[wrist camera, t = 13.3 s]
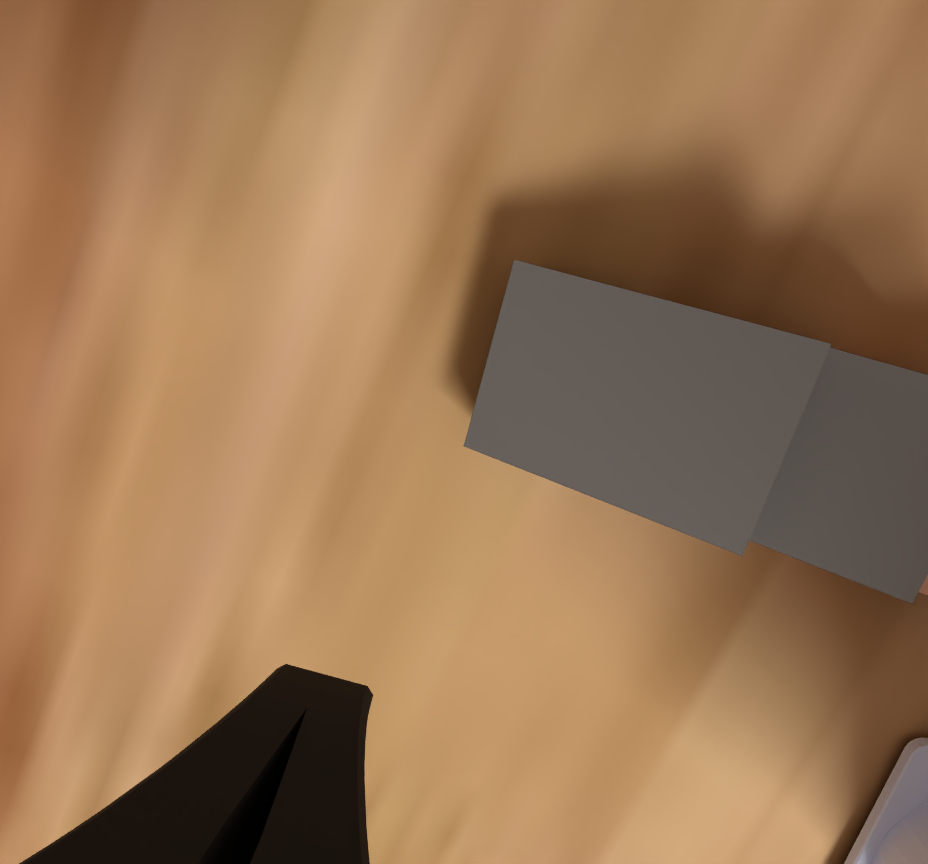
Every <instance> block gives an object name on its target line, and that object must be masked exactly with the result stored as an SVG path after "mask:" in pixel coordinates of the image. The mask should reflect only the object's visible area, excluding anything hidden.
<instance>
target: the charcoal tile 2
mask: <svg viewBox="0 0 928 864" xmlns="http://www.w3.org/2000/svg"><path fill="white" fill-rule="evenodd" d="M749 541H752V542H755V543H757V544H760V545H762V546H765V547H767V548H770V549H773V550H775V551H778V552H780V553H783V554H785V555H788V556H790V557H793V558H796V559H798V560H801V561H803V562H806V563H808V564H811V565H814V566H816V567H819V568H821V569H824V570H826V571H829V572H832V573H834V574H837V575H839V576H842V577H844V578H847V579H850V580H852V581H855V582H857V583H860V584H862V585H865V586H867V587H870V588H873V589H875V590H878V591H880V592H883V593H885V594H888V595H891V596H893V597H896V598H898V599H901V600H903V601H906V602H909V603H911V604H913V602H914V600H915V598H916V596H917V594H918V592H919V590H920V588H921V587H922V585H923V583H924V581H925V579H926V577H927V575H928V375H927V374H923V373H919V372H916V371H912V370H909V369H905V368H902V367H898V366H894V365H891V364H887V363H884V362H880V361H876V360H873V359H869V358H866V357H862V356H858V355H855V354H851V353H848V352H844V351H841V350H837V349H833V348H829V351H828V353H827V355H826V358H825V360H824V363H823V365H822V367H821V370H820V372H819V375H818V377H817V379H816V382H815V384H814V387H813V389H812V391H811V394H810V396H809V399H808V401H807V403H806V406H805V408H804V411H803V413H802V415H801V418H800V420H799V422H798V425H797V427H796V430H795V432H794V434H793V437H792V439H791V442H790V444H789V446H788V449H787V451H786V454H785V456H784V458H783V461H782V463H781V466H780V468H779V470H778V473H777V475H776V478H775V480H774V482H773V485H772V487H771V489H770V492H769V494H768V497H767V499H766V501H765V504H764V506H763V509H762V511H761V513H760V516H759V518H758V521H757V523H756V525H755V528H754V530H753V533H752V535H751V537H750V540H749Z"/></svg>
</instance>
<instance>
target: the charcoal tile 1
mask: <svg viewBox="0 0 928 864" xmlns="http://www.w3.org/2000/svg"><path fill="white" fill-rule="evenodd" d="M830 346H831V344H830V343H826V342H823V341H819V340H815V339H811V338H808V337H804V336H800V335H796V334H792V333H789V332H785V331H781V330H777V329H774V328H770V327H766V326H762V325H759V324H755V323H751V322H747V321H743V320H740V319H736V318H732V317H728V316H725V315H721V314H717V313H713V312H710V311H706V310H702V309H698V308H694V307H691V306H687V305H683V304H679V303H676V302H672V301H668V300H664V299H661V298H657V297H653V296H649V295H645V294H642V293H638V292H634V291H630V290H627V289H623V288H619V287H615V286H612V285H608V284H604V283H600V282H596V281H593V280H589V279H585V278H581V277H578V276H574V275H570V274H566V273H563V272H559V271H555V270H551V269H547V268H544V267H540V266H536V265H532V264H529V263H525V262H521V261H517V260H514V262H513V266H512V269H511V273H510V277H509V281H508V284H507V288H506V292H505V295H504V299H503V303H502V306H501V310H500V314H499V318H498V321H497V325H496V329H495V332H494V336H493V340H492V343H491V347H490V351H489V355H488V358H487V362H486V366H485V369H484V373H483V377H482V381H481V384H480V388H479V392H478V395H477V399H476V403H475V406H474V410H473V414H472V418H471V421H470V425H469V429H468V432H467V436H466V440H465V443H464V446H465V447H467V448H470V449H472V450H475V451H477V452H480V453H482V454H485V455H487V456H490V457H493V458H495V459H498V460H500V461H503V462H505V463H508V464H510V465H513V466H515V467H518V468H520V469H523V470H525V471H528V472H531V473H533V474H536V475H538V476H541V477H543V478H546V479H548V480H551V481H553V482H556V483H558V484H561V485H563V486H566V487H569V488H571V489H574V490H576V491H579V492H581V493H584V494H586V495H589V496H591V497H594V498H596V499H599V500H601V501H604V502H606V503H609V504H612V505H614V506H617V507H619V508H622V509H624V510H627V511H629V512H632V513H634V514H637V515H639V516H642V517H644V518H647V519H650V520H652V521H655V522H657V523H660V524H662V525H665V526H667V527H670V528H672V529H675V530H677V531H680V532H682V533H685V534H688V535H690V536H693V537H695V538H698V539H700V540H703V541H705V542H708V543H710V544H713V545H715V546H718V547H720V548H723V549H726V550H728V551H731V552H733V553H736V554H738V555H741V556H743V554H744V552H745V549H746V547H747V545H748V542H749V540H750V537H751V535H752V533H753V530H754V528H755V525H756V523H757V521H758V518H759V516H760V513H761V511H762V509H763V506H764V504H765V501H766V499H767V497H768V494H769V492H770V489H771V487H772V485H773V482H774V480H775V478H776V475H777V473H778V470H779V468H780V466H781V463H782V461H783V458H784V456H785V454H786V451H787V449H788V446H789V444H790V442H791V439H792V437H793V434H794V432H795V430H796V427H797V425H798V422H799V420H800V418H801V415H802V413H803V411H804V408H805V406H806V403H807V401H808V399H809V396H810V394H811V391H812V389H813V387H814V384H815V382H816V379H817V377H818V375H819V372H820V370H821V367H822V365H823V363H824V360H825V358H826V355H827V353H828V351H829V348H830Z"/></svg>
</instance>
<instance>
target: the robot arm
mask: <svg viewBox="0 0 928 864" xmlns="http://www.w3.org/2000/svg"><path fill="white" fill-rule="evenodd" d="M372 697H373V694H372V693H371V691H370V689H369V688H368V686H365V685H361V684H358V683H354V682H350V681H347V680H343V679H339V678H336V677H332V676H328V675H324V674H321V673H317V672H313V671H310V670H306V669H302V668H299V667H295V666H291V665H288V664H285V665H283V666H281V667H279V668H277V669H276V670H275V671H274V672H273V673H272V674H271V675H270V676H269V677H268V678H267V679H266V680H265V681H264V682H263V683H261V684H260V685H259V686H258V687H257V688H256V689H255V690H254V691H253V692H252V693H251V694H249V695H248V696H247V697H246V698H245V699H244V700H243V701H242V702H240V703H239V704H238V705H237V706H236V707H235V708H234V709H232V710H231V711H230V712H229V713H228V714H227V715H225V716H224V717H223V718H222V719H221V720H219V721H218V722H217V723H216V724H215V725H213V726H212V727H211V728H210V729H208V730H207V731H206V732H205V733H204V734H202V735H201V736H200V737H199V738H197V739H196V740H195V741H194V742H192V743H191V744H190V745H189V746H187V747H186V748H185V749H184V750H182V751H181V752H180V753H179V754H177V755H176V756H175V757H174V758H172V759H171V760H170V761H168V762H167V763H166V764H164V765H163V766H162V767H161V768H159V769H158V770H156V771H155V772H154V773H152V774H151V775H150V776H148V777H147V778H145V779H144V780H143V781H141V782H140V783H138V784H137V785H136V786H134V787H133V788H132V789H130V790H129V791H127V792H126V793H125V794H123V795H122V796H121V797H119V798H118V799H116V800H115V801H114V802H112V803H111V804H109V805H108V806H107V807H105V808H104V809H102V810H101V811H100V812H98V813H97V814H95V815H94V816H92V817H91V818H89V819H88V820H86V821H85V822H83V823H82V824H80V825H79V826H77V827H76V828H74V829H73V830H71V831H70V832H68V833H67V834H65V835H64V836H62V837H61V838H59V839H58V840H56V841H55V842H53V843H51V844H50V845H48V846H47V847H45V848H44V849H42V850H40V851H39V852H37V853H36V854H34V855H32V856H31V857H29V858H28V859H26V860H24V861H23V862H21V863H20V864H370V862H369V853H368V841H367V828H366V806H365V782H364V761H365V738H366V726H367V719H368V713H369V709H370V705H371V701H372ZM844 864H928V738H917V739H913V740H912V741H910V742H909V743H908V744H907V745H906V746H905V748H904V750H903V752H902V754H901V755H900V757H899V759H898V761H897V763H896V765H895V767H894V769H893V771H892V773H891V775H890V776H889V778H888V780H887V782H886V784H885V786H884V788H883V790H882V792H881V794H880V796H879V798H878V799H877V801H876V803H875V805H874V807H873V809H872V811H871V813H870V815H869V817H868V819H867V820H866V822H865V824H864V826H863V828H862V830H861V832H860V834H859V836H858V838H857V840H856V842H855V843H854V845H853V847H852V849H851V851H850V853H849V855H848V857H847V859H846V861H845V863H844Z"/></svg>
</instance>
